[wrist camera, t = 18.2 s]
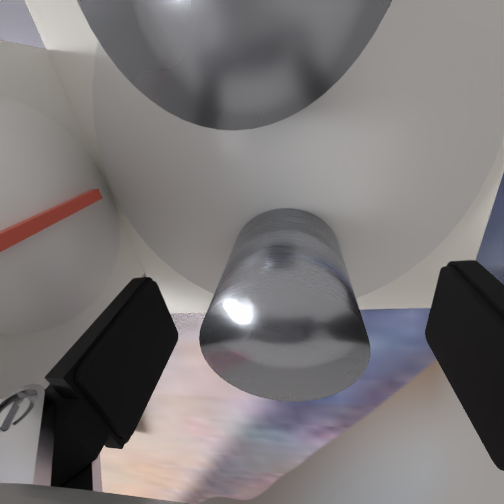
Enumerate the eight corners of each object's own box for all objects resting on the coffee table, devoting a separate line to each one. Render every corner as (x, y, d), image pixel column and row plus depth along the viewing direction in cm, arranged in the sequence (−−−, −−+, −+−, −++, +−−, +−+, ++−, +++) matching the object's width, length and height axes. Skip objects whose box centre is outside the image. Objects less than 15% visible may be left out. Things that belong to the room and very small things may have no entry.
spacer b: (243, 299, 13) (219, 398, 9) (224, 213, 11) (178, 290, 6) (339, 295, 12) (365, 404, 8) (340, 202, 10) (377, 282, 5)
